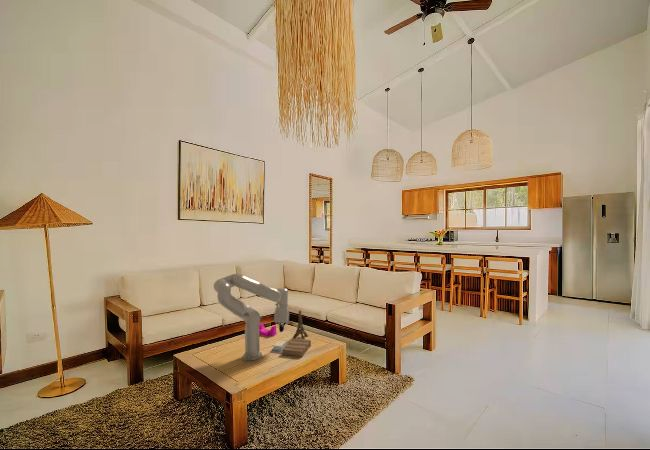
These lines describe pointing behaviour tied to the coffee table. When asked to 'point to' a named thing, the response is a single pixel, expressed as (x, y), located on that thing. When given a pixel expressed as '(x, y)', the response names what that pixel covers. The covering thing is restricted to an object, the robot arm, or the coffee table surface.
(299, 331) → the eiffel tower
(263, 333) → the toy block
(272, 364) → the coffee table surface
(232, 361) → the coffee table surface
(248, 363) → the coffee table surface
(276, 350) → the mat
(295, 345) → the deck
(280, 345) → the beige rectangular block
